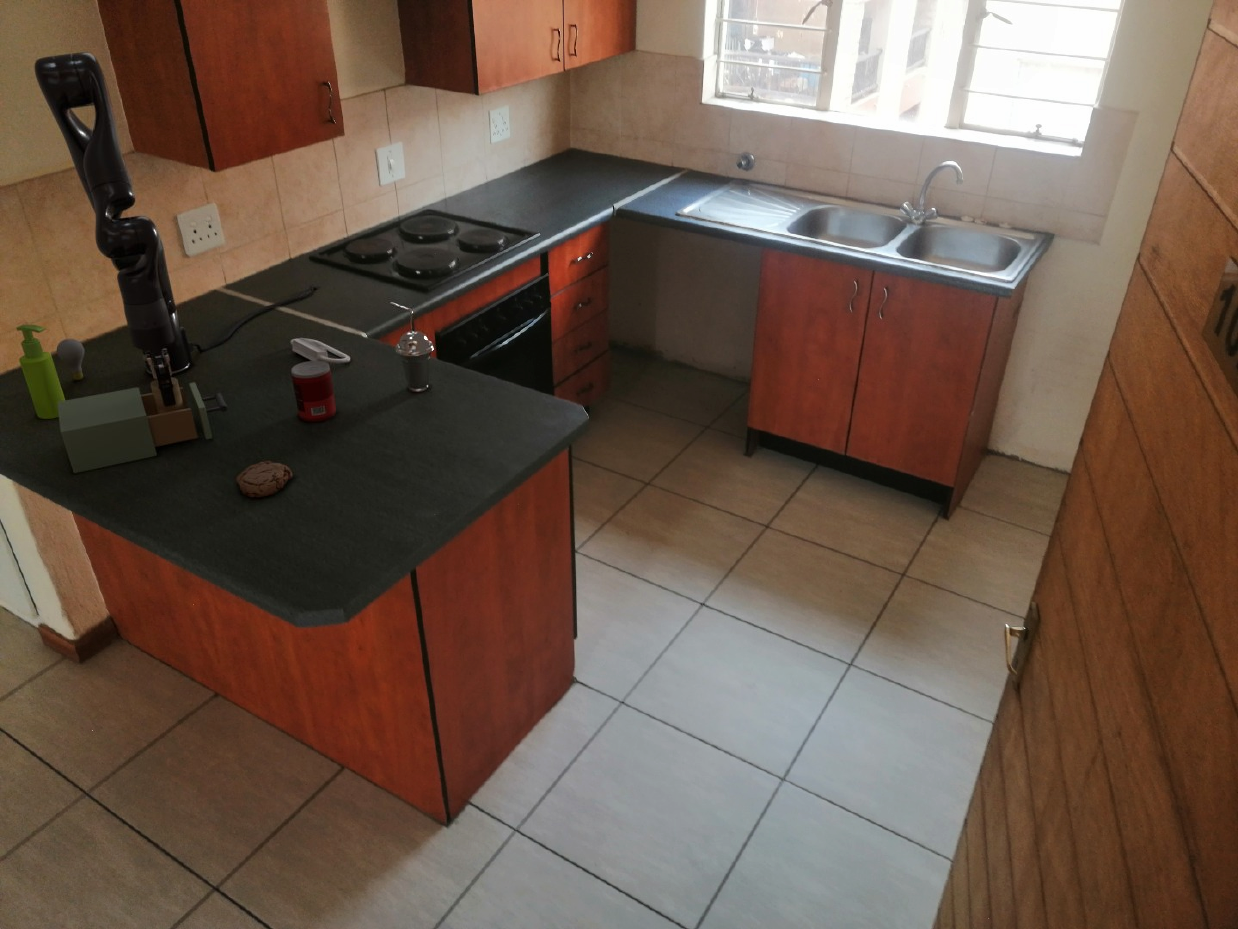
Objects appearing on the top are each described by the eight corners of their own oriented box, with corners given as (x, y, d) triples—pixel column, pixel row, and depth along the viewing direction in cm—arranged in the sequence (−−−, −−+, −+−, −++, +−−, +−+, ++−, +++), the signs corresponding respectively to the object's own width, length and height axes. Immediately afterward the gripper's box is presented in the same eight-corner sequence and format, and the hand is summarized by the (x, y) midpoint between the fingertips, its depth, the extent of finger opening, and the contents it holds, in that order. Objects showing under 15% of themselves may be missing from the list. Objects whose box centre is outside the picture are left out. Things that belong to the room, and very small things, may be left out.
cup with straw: (412, 399, 210) (402, 314, 200) (391, 386, 216) (381, 303, 206) (444, 389, 215) (437, 306, 205) (423, 376, 221) (415, 295, 211)
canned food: (344, 410, 205) (337, 364, 200) (319, 425, 199) (311, 378, 193) (316, 403, 208) (308, 357, 202) (291, 418, 201) (282, 371, 196)
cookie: (240, 502, 172) (237, 488, 170) (236, 475, 180) (233, 462, 179) (296, 492, 175) (294, 478, 174) (290, 466, 184) (287, 452, 182)
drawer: (222, 408, 203) (216, 378, 200) (234, 433, 193) (227, 402, 190) (132, 425, 196) (124, 395, 192) (139, 453, 185) (131, 421, 182)
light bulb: (97, 376, 219) (86, 336, 214) (79, 386, 214) (66, 345, 209) (79, 373, 220) (67, 333, 215) (60, 382, 216) (47, 342, 211)
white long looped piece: (355, 368, 228) (357, 353, 227) (326, 370, 222) (327, 354, 221) (312, 346, 240) (313, 332, 239) (282, 347, 234) (283, 332, 233)
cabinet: (148, 425, 198) (138, 387, 193) (157, 455, 187) (146, 415, 182) (69, 441, 191) (57, 401, 187) (74, 473, 180) (60, 432, 176)
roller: (177, 418, 196) (165, 368, 190) (193, 424, 194) (181, 373, 188) (156, 427, 192) (143, 376, 187) (172, 434, 190) (159, 382, 184)
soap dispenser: (59, 420, 199) (31, 332, 189) (31, 417, 200) (1, 329, 191) (78, 408, 204) (52, 322, 194) (50, 405, 205) (23, 319, 196)
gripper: (174, 329, 178) (193, 409, 186) (164, 306, 189) (183, 383, 197) (131, 336, 175) (152, 417, 183) (123, 312, 186) (144, 390, 194)
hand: (168, 399), depth 190 cm, fingers closed on roller, 5 cm apart
